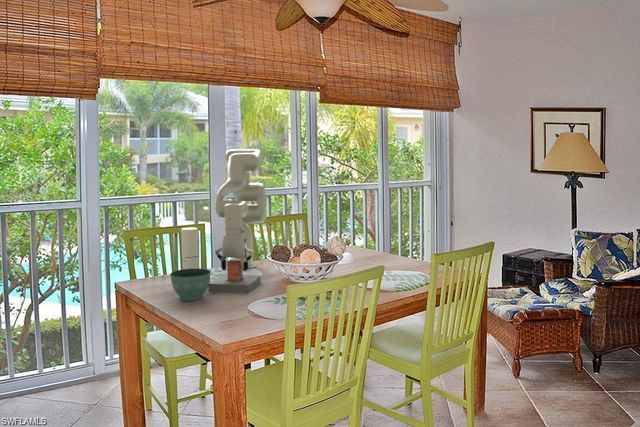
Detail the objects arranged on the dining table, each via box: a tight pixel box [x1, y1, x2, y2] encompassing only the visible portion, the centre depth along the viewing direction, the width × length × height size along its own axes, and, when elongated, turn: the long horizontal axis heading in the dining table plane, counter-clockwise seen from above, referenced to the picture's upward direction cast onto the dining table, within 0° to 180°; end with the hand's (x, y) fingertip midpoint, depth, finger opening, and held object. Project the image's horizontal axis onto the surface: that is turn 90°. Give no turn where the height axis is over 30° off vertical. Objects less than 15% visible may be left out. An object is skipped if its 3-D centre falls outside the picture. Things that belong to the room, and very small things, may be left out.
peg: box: [226, 258, 243, 282], centre depth 269 cm, size 5×5×12 cm
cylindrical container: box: [180, 226, 200, 269], centre depth 276 cm, size 7×7×25 cm
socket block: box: [207, 273, 262, 294], centre depth 269 cm, size 18×18×4 cm
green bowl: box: [170, 268, 212, 302], centre depth 251 cm, size 16×16×11 cm
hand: (234, 270), depth 269 cm, fingers open, 9 cm apart
